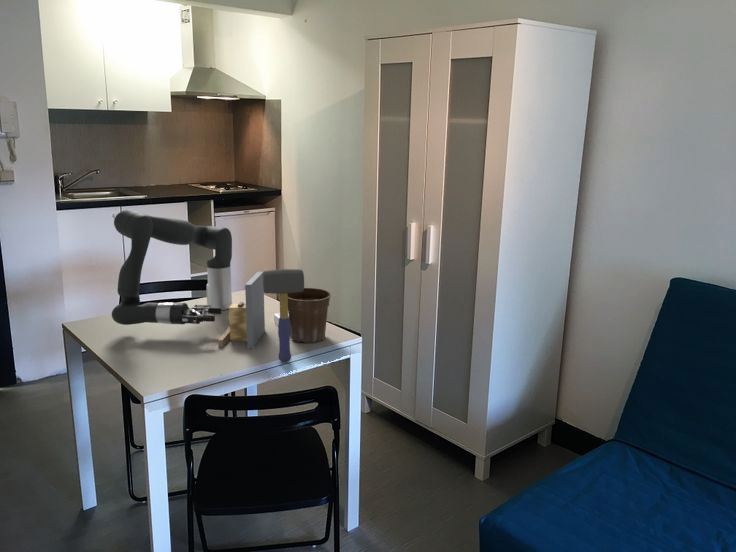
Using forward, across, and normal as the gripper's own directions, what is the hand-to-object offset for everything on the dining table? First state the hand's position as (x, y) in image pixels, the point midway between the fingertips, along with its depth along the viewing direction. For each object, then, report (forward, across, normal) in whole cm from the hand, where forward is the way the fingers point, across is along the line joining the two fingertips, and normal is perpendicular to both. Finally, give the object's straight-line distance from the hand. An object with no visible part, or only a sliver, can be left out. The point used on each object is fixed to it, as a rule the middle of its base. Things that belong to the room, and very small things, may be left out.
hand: (218, 314), depth 209 cm
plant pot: (+31, +3, +9) cm, 32 cm away
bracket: (+22, +15, +9) cm, 28 cm away
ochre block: (+8, 0, +8) cm, 12 cm away
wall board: (+8, 0, +8) cm, 12 cm away
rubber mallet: (+27, -20, +9) cm, 35 cm away
